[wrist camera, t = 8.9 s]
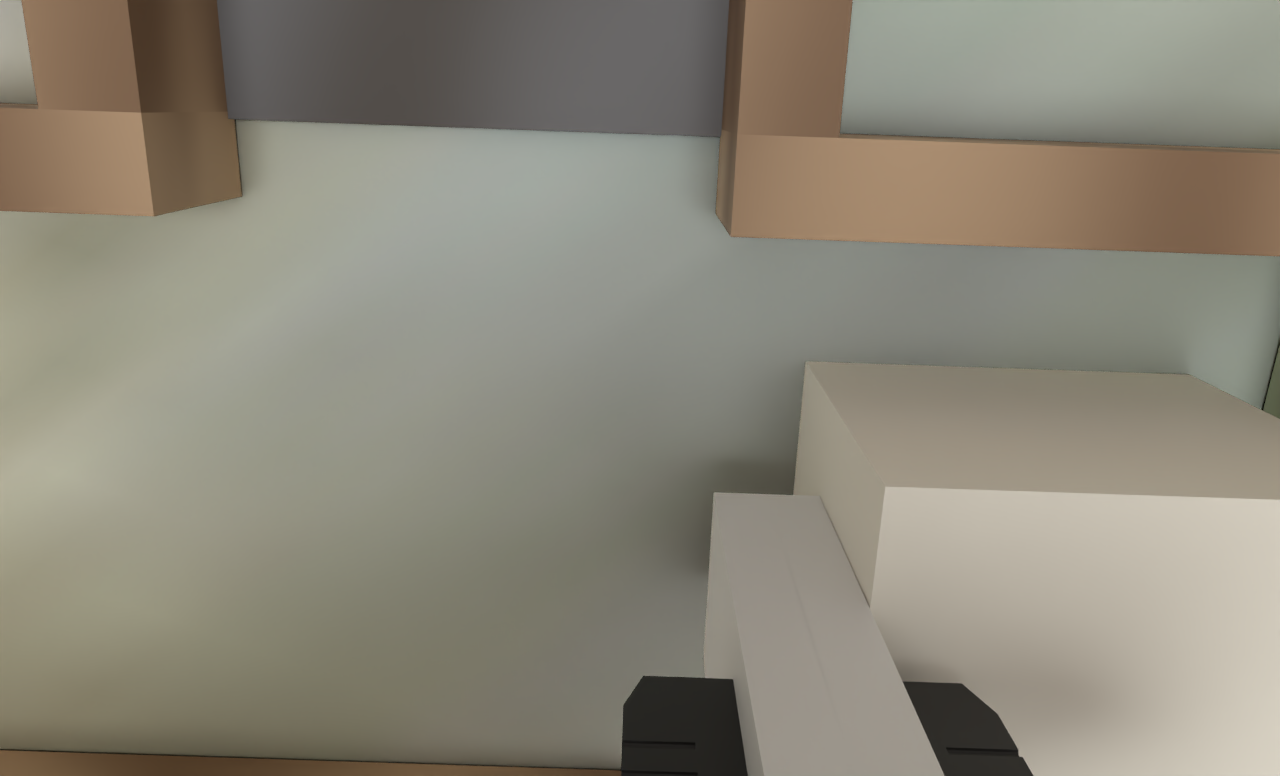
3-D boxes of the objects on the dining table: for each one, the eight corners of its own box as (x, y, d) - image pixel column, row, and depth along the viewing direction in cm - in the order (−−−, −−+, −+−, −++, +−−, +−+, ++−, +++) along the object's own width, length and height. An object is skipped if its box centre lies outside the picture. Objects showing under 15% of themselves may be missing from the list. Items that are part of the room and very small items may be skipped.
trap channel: (44, 1114, 19) (-42, 1258, 17) (-348, -622, 11) (-638, -835, 8) (1133, 1147, 19) (1202, 1296, 17) (1605, -543, 11) (1882, -730, 8)
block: (774, 686, 16) (830, 932, 11) (804, 359, 14) (885, 486, 9) (1111, 696, 16) (1311, 946, 11) (1184, 371, 14) (1456, 506, 9)
